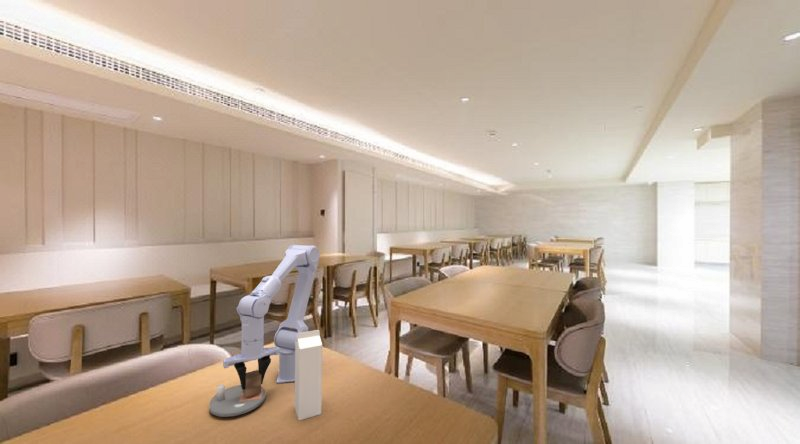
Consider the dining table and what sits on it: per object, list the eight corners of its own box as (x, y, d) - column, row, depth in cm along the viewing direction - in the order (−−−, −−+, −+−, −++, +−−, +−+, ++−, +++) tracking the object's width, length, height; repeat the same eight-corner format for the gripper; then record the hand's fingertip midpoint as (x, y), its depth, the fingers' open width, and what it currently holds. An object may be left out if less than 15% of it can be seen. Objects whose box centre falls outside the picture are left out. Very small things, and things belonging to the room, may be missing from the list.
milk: (321, 414, 84) (323, 333, 84) (298, 421, 81) (300, 337, 81) (315, 402, 89) (317, 326, 89) (293, 408, 86) (295, 329, 86)
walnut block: (257, 386, 92) (257, 369, 92) (261, 392, 89) (261, 375, 89) (242, 391, 89) (242, 373, 89) (245, 397, 86) (246, 379, 86)
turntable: (268, 385, 97) (268, 370, 97) (261, 412, 83) (261, 394, 83) (218, 391, 93) (218, 375, 93) (201, 420, 79) (201, 402, 79)
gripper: (274, 328, 96) (273, 372, 97) (221, 339, 87) (220, 387, 87) (282, 335, 91) (281, 381, 91) (226, 347, 82) (225, 399, 82)
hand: (252, 385), depth 89 cm, fingers closed on walnut block, 4 cm apart
